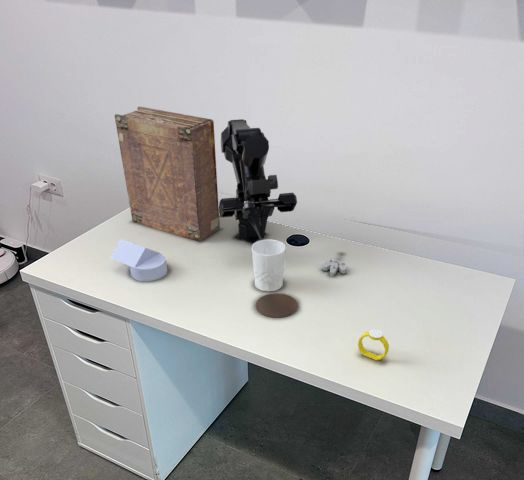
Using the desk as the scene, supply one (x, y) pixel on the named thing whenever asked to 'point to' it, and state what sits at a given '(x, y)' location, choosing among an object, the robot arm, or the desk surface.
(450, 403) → the desk surface
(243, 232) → the robot arm
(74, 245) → the desk surface
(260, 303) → the coaster
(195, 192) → the book
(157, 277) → the wedge on round base
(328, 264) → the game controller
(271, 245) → the white cup
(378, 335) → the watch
